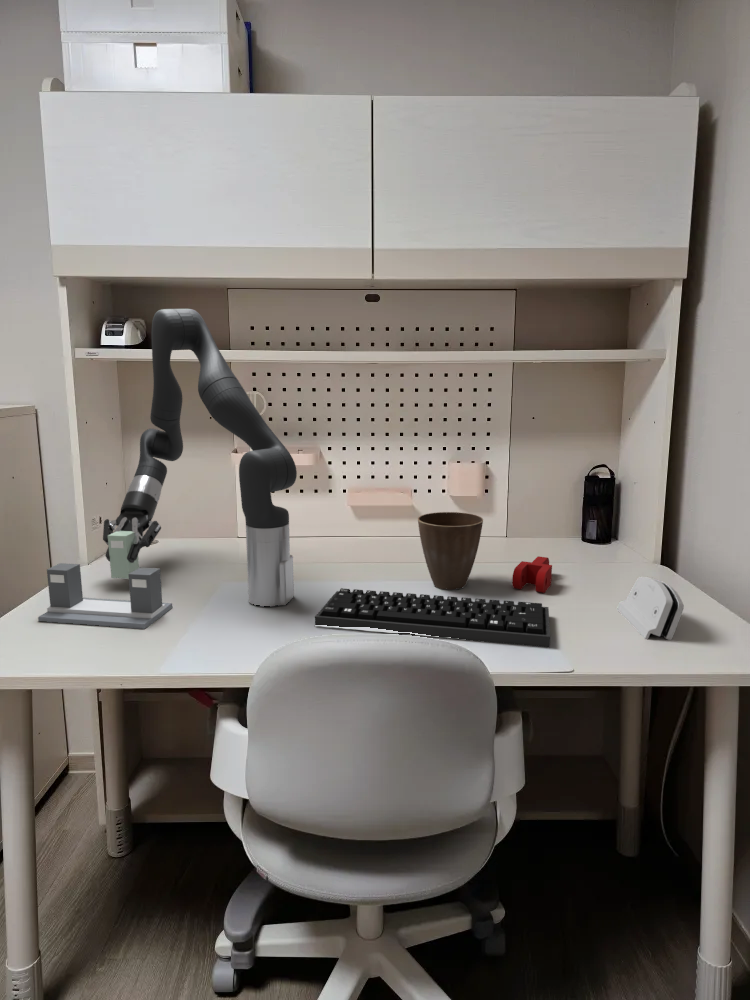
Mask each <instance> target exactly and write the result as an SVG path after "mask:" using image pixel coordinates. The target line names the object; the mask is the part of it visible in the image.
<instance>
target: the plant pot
mask: <svg viewBox="0 0 750 1000" xmlns="http://www.w3.org/2000/svg"><path fill="white" fill-rule="evenodd" d="M417 522H418V530H419V532H418V533H419V538H420V543H421V548H422V551H423V556H424V559H425V564H426V567H427V570H428V572H429V573H428V574H429V576H430V578H431V581H432V584H433V586H434V587H436V588H437V589H440V590H446V591H449V590H450V591H453V590H454V591H455V590H459V589H463V588H465V587H466V586H467V582H468V580H469V578H470V575H471V572H472V570H473V567H474V563H475V561H476V557H477V554H478V549H479V545H480V540H481V535H482V529H483V524H484V519H483V517H481V516H479V515H477V514H472V513H467V512H457V511H456V512H455V511H441V512H440V511H439V512H430V513H425V514H422V515H420V516H418V517H417Z"/></svg>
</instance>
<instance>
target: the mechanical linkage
mask: <svg viewBox="0 0 750 1000" xmlns="http://www.w3.org/2000/svg"><path fill="white" fill-rule="evenodd" d="M552 573H553V565H552V564H550V559H549V557H547V556H546V557H545V556H537V557H536V558H535V559H534V560H533V561H532V562H530V561H525V560H524V561H523V560H521V562H519V563H518V564H517V565H516V566H515V567H514V569H513V573H512V577H511V580H512V581H511V582H512V583H511V584H512V588H513V589H517V590H522V589H523V588H524V587H525V586H526V585H533V586H535V592H536V593H541V594H545V593H546V592H547V590H549V588H550V587H551V586H552V576H553V575H552Z"/></svg>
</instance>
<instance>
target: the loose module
mask: <svg viewBox="0 0 750 1000" xmlns="http://www.w3.org/2000/svg"><path fill="white" fill-rule="evenodd" d="M133 539H134V532H132V531H119V532H114V531H113V533H112V534H110V535H108V545H107V547H108V546H109V555H110V562H109V565H110V576H111V577H110V578H111V579H126V580H129V575H128V574H129V573H131V572H133V571H135V570H136V569H138V568H140V564H139V563H140V561H139V556H138V557H137V559H136V560H134V562H133V563H130V562H129V561H128V560H127V556H128V554H129V551H130V548H131V545H133V544H134V543H133Z"/></svg>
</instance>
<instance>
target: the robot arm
mask: <svg viewBox="0 0 750 1000" xmlns="http://www.w3.org/2000/svg"><path fill="white" fill-rule="evenodd" d="M182 350H183V351H184V350H186V351H187V350H190V351H191V352H193V354H194V355H195V356H196V358H197V359H198V362H199V364H200V368H199V370H200V371H199V376H198V381H197V392H198V395H199V397H200V400H201V401H202V403H203V405H204V406H205V408H206V409H207V411H208V413H209V415H210V416H211V417H212V418H213V420H215V421H216V423H218V424H219V425H220V426H222V428H224V429H225V430H227V431H229V432H230V433H231V434H233V435H234V436H236V437H238V438H239V439H240V440H241V441H243V442H244V443H246V445H247V446H249V448H250V449H251V450H250V451H246V452H245V453H244V454H243V455H242V457H241V458H240V461H239V466H238V479H239V488H240V489H239V490H240V491H239V492H240V501H241V509H242V512H243V516H244V518H245V536H246V537H245V541H246V562H247V564H246V566H247V587H248V589H247V594H248V602H249V603H250V604H252V605H253V604H254V605H253V606H256V605H260V606H259V607H264V606H270V607H276V606H275V605H278V606H287V605H288V604H289V603H288V602H290V601H292V599H293V598H294V597H295V590H294V585H295V584H294V580H295V579H294V556H293V555H292V554H291V545H290V544H291V543H290V513H289V510H288V509H286V508H284V507H282V506H279V505H278V506H277V505H274V503H273V500H272V493H273V492H279V491H284V490H287V489H289V488H291V487H292V486H294V484H295V483H296V480H297V475H298V472H297V471H298V470H297V465H296V463H295V461H294V458H293V455H292V454H291V453H290V451H289V450H288V449H287V448H286V446H285V445H284V444H283V442H282V441H281V440H280V439H279V438H278V437H277V435H276V434H275V433H274V432H273V430H272V429H271V428H270V426H268V424H267V422H266V421H265V419H264V418H263V417H262V415H261V414H260V412H259V411H258V410H257V408H256V406H255V404H253V402H252V400H251V399H250V397H249V395H248V393H247V392H246V390H245V389H244V387H243V385H242V383H241V382H240V380H239V379H238V378H237V376H236V375H235V374H234V372H233V371H232V369H231V367H230V365H229V364H228V363H227V361H226V360H225V358H224V356H223V354H222V352H221V351H220V349H219V347H218V346H217V343H216V341H215V339H214V337H213V335H212V333H211V331H210V329H209V327H208V325H207V323H206V322H205V319H204V318H203V317H202V315H201V314H200V313H199V312H198V311H197V310H195V309H192V308H161V309H159V310H157V311H156V312H155V313H154V316H153V317H152V322H151V358H152V360H151V361H152V373H153V374H152V375H153V377H152V378H153V386H152V387H153V389H152V392H153V393H152V398H151V399H152V400H151V408H150V415H149V416H150V423H151V424H153V425H154V426H155V427H157V428H159V429H156V428H148V429H145V430H144V431H143V432H142V433H141V435H140V439H139V460H138V465H137V468H136V471H135V474H134V476H133V478H132V480H131V482H130V484H129V486H128V488H127V491H126V493H125V497H124V500H123V502H122V504H121V507H120V513H119V515H118V516H117V517H116V519H112V520H110V519H109V518H107V519H105V520H104V521H103V530H102V531H103V532H102V534H103V535H102V541H103V542H104V543H105V544H106V545H107V549H106V553H105V555H104V556H105V558H106V560H108V562H109V563H110V555H109V546H108V535H110V534H112V533H114V532H119V531H132V532H134V539H133V543H134V544H133V545H131V548H130V551H129V554H128V556H127V560H128V561H129V562H130V563H133V562H134V560H136V559H137V557H138V558H139V554H140V552H141V549H142V548H144V547H146V548H149V547H150V546H151V545H152V543H153V542H154V540H155V539H156V538H157V536H158V535H159V533H160V531H161V529H162V526H161V525H160V523H159V522H158V521H157V520H153V518H154V516H155V512H156V509H157V506H158V503H159V501H160V497H161V494H162V490H163V486H164V483H165V479H166V477H167V474H168V468H167V465H166V464H165V463H164V462H162V461H161V460H164V461H169V462H175V461H178V459H180V458H181V456H182V454H183V450H184V441H183V436H182V431H181V415H182V406H183V392H182V391H183V390H182V388H181V386H180V384H179V382H178V380H177V377H176V376H175V374H174V371H173V370H172V366H171V356H172V353H173V351H182ZM215 421H214V422H215ZM159 459H160V460H159ZM152 520H153V521H152ZM145 531H146V532H145ZM144 532H145V533H144ZM293 596H294V597H293ZM287 603H288V604H287ZM286 604H287V605H286Z"/></svg>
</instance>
